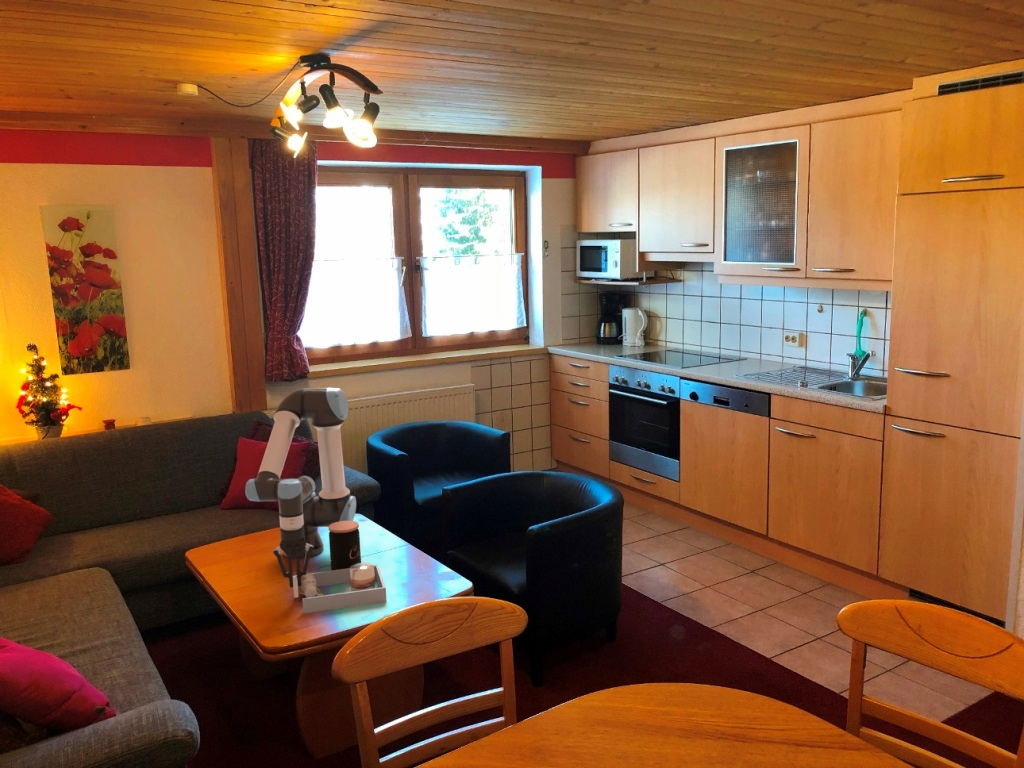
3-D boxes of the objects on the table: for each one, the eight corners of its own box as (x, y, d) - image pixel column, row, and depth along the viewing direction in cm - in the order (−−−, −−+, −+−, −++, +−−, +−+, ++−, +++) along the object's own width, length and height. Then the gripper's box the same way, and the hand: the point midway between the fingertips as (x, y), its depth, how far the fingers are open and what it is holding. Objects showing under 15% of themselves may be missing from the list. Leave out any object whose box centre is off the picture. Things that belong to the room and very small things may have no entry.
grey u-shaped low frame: (301, 588, 280) (300, 574, 279) (378, 578, 287) (377, 564, 286) (303, 614, 260) (302, 599, 259) (386, 602, 267) (385, 587, 266)
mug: (302, 601, 265) (292, 572, 268) (300, 608, 273) (291, 580, 277) (324, 593, 268) (314, 565, 272) (322, 600, 276) (313, 572, 280)
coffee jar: (354, 580, 286) (351, 530, 283) (326, 578, 288) (323, 529, 285) (366, 568, 296) (363, 521, 294) (338, 567, 299) (335, 520, 296)
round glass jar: (350, 589, 278) (348, 564, 277) (374, 586, 280) (372, 561, 279) (352, 598, 270) (350, 573, 269) (376, 595, 273) (375, 569, 271)
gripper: (271, 532, 261) (275, 602, 264) (312, 528, 265) (316, 597, 268) (271, 525, 268) (275, 593, 272) (312, 521, 272) (315, 589, 275)
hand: (296, 595), depth 270 cm, fingers closed
